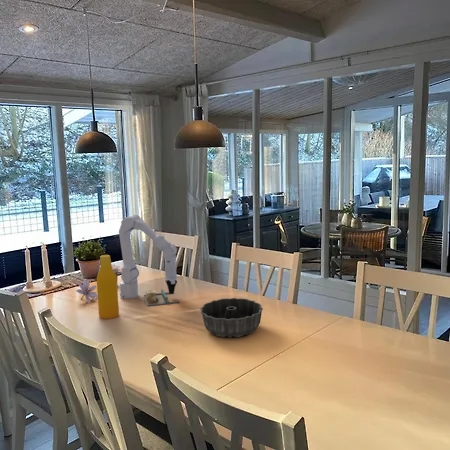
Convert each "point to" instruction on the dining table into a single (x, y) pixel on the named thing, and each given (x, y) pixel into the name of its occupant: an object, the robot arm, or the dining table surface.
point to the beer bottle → (107, 289)
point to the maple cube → (151, 296)
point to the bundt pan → (231, 317)
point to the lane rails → (162, 303)
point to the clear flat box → (157, 299)
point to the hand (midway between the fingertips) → (171, 293)
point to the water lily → (85, 292)
